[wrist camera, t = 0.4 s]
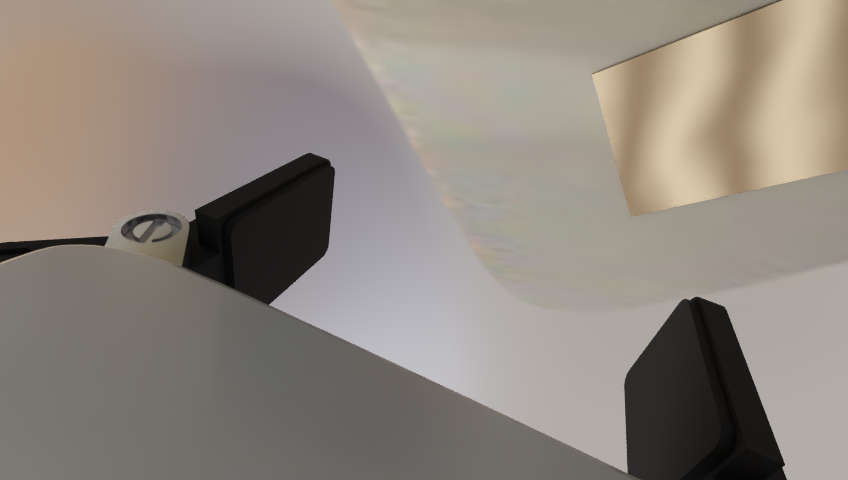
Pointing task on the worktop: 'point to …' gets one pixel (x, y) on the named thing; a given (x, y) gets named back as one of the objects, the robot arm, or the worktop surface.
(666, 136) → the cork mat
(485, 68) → the worktop surface
